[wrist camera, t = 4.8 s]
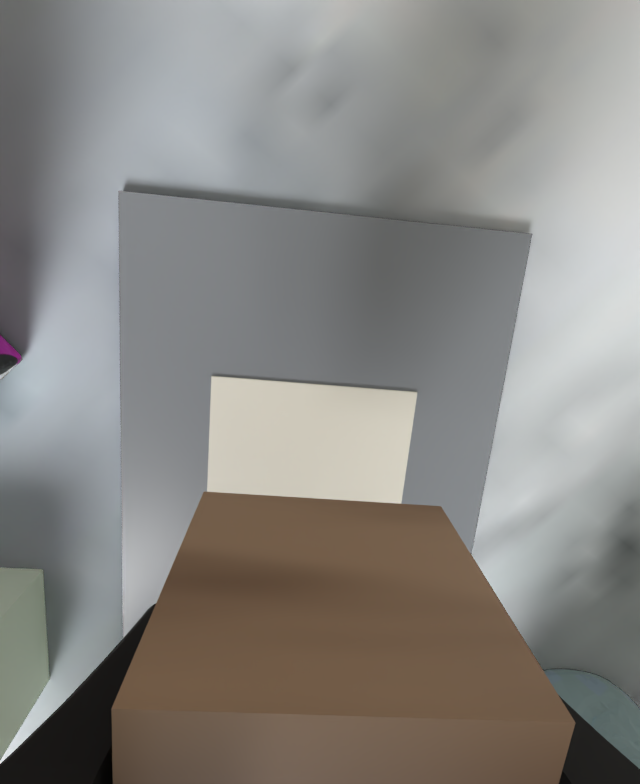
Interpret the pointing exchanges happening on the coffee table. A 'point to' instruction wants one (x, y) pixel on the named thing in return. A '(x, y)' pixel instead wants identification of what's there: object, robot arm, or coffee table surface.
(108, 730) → the robot arm
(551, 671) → the green plant pot
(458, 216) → the coffee table surface
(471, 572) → the walnut block
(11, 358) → the candy bar box
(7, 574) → the sage block
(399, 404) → the board
